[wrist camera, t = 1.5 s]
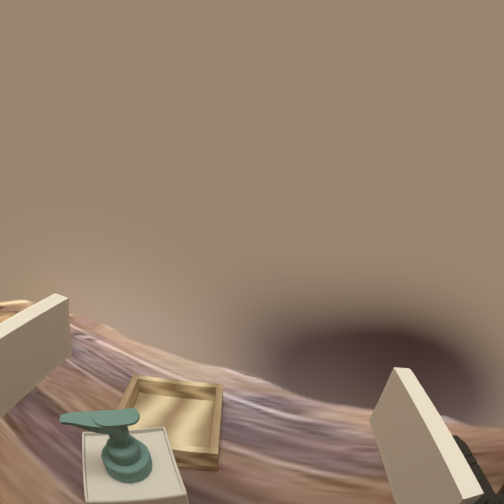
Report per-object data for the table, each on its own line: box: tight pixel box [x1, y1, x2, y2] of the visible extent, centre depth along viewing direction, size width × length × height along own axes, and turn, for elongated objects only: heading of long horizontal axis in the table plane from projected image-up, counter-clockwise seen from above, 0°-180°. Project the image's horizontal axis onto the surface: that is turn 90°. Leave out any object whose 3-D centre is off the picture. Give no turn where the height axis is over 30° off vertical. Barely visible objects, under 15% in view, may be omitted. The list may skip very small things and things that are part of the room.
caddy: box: [117, 374, 223, 471], centre depth 40 cm, size 15×15×4 cm
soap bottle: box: [60, 408, 189, 504], centre depth 21 cm, size 9×9×19 cm
